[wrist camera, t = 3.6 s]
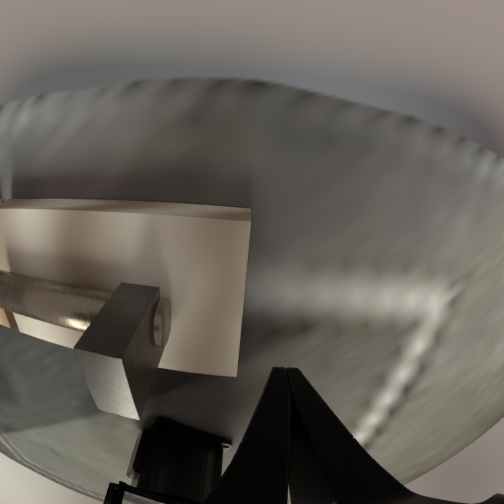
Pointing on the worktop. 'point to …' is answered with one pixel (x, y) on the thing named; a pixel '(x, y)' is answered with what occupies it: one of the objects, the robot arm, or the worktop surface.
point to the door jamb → (139, 266)
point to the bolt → (101, 332)
